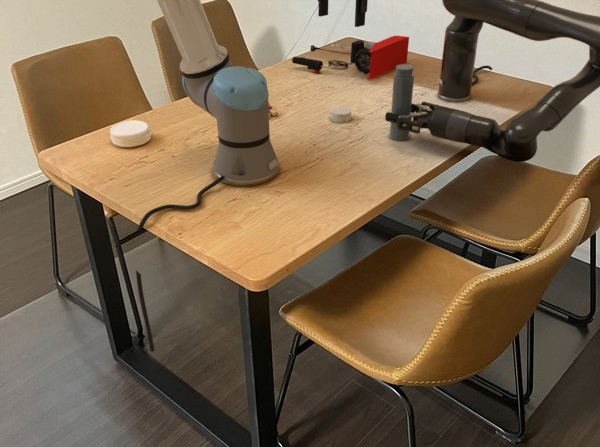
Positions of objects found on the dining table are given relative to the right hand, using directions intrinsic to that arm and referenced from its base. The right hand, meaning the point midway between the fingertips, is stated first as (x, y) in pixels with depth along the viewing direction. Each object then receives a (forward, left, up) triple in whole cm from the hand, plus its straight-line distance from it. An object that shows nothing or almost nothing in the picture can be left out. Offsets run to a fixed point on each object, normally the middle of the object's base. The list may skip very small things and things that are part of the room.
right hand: (394, 110), depth 158 cm
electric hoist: (-42, -39, -7) cm, 58 cm away
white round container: (+41, -54, -7) cm, 68 cm away
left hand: (-1, -17, +20) cm, 26 cm away
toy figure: (+8, -39, -7) cm, 40 cm away
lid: (-2, -17, -5) cm, 18 cm away
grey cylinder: (0, +2, -7) cm, 7 cm away
